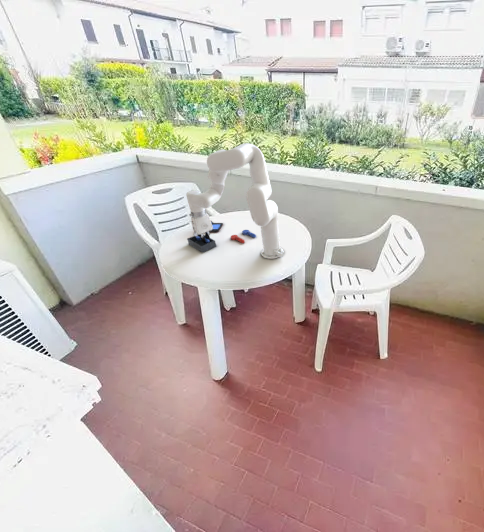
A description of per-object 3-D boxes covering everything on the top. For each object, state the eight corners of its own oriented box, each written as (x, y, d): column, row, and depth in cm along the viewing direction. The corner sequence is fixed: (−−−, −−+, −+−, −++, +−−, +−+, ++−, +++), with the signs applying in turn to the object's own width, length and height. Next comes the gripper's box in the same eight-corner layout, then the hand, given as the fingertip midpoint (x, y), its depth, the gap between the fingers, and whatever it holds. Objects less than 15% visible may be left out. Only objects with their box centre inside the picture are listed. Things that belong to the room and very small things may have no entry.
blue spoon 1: (212, 242, 168) (211, 238, 167) (206, 244, 165) (205, 241, 164) (201, 236, 174) (200, 233, 173) (195, 238, 171) (194, 235, 170)
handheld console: (218, 232, 184) (216, 222, 180) (202, 232, 184) (199, 222, 180) (223, 224, 194) (221, 214, 190) (207, 224, 194) (205, 214, 190)
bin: (216, 246, 169) (215, 240, 167) (202, 252, 163) (201, 246, 161) (202, 238, 177) (200, 233, 175) (188, 244, 171) (187, 238, 169)
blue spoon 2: (258, 236, 180) (257, 233, 178) (253, 239, 177) (252, 236, 176) (246, 231, 186) (245, 228, 184) (241, 233, 183) (240, 230, 182)
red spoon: (247, 242, 174) (246, 238, 173) (241, 244, 171) (240, 241, 170) (235, 236, 180) (234, 233, 179) (229, 238, 177) (229, 235, 176)
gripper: (189, 219, 151) (197, 249, 161) (214, 210, 161) (221, 238, 172) (181, 215, 155) (190, 244, 165) (207, 207, 165) (214, 234, 175)
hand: (206, 241), depth 168 cm, fingers closed on blue spoon 1, 2 cm apart
